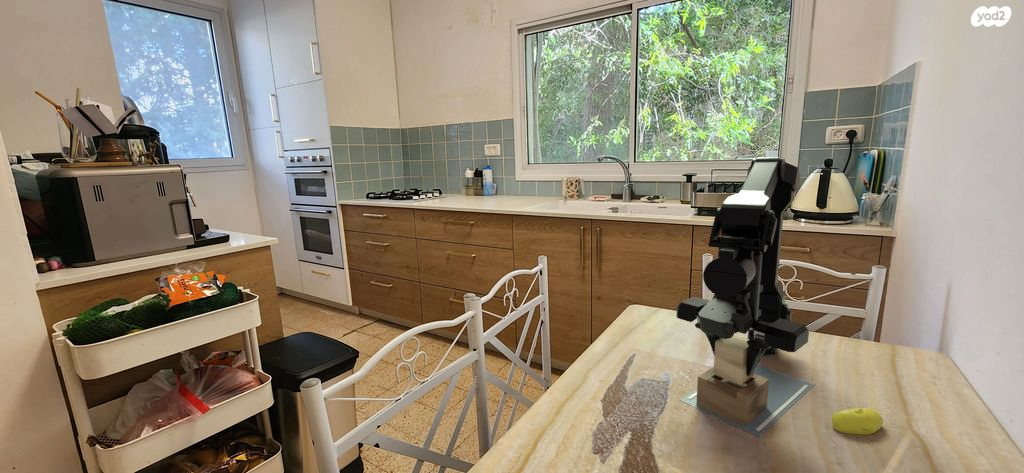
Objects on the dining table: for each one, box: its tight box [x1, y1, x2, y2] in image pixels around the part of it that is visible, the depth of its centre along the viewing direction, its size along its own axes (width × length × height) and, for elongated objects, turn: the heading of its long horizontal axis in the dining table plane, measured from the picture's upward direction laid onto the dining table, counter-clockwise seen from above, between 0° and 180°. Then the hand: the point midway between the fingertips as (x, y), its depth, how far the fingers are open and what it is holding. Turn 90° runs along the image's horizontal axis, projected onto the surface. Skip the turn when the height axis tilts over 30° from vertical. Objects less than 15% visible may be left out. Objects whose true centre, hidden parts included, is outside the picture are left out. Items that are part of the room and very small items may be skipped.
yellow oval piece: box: [831, 407, 884, 435], centre depth 66 cm, size 4×8×4 cm, turn 94°
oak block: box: [713, 334, 754, 385], centre depth 71 cm, size 4×4×6 cm
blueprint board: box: [679, 364, 816, 438], centre depth 76 cm, size 23×13×1 cm, turn 127°
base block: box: [696, 366, 769, 427], centre depth 72 cm, size 8×8×5 cm
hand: (733, 369), depth 71 cm, fingers closed on oak block, 4 cm apart
